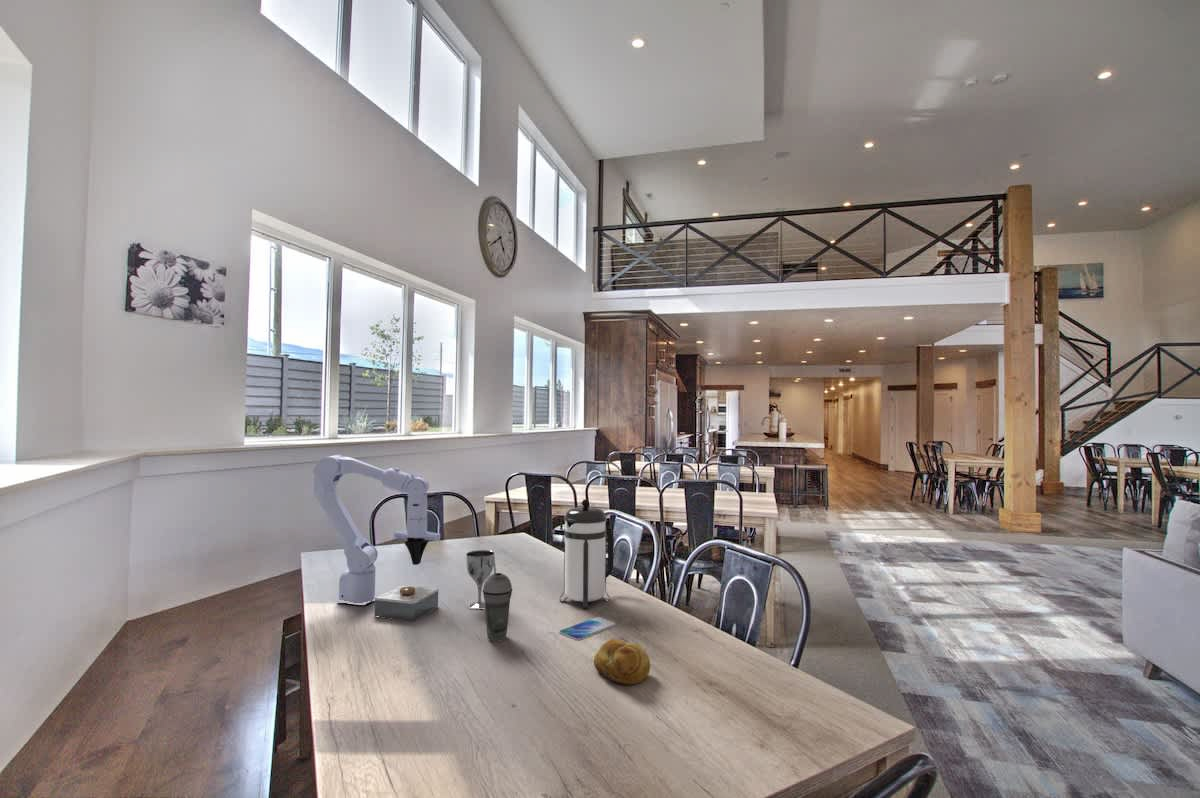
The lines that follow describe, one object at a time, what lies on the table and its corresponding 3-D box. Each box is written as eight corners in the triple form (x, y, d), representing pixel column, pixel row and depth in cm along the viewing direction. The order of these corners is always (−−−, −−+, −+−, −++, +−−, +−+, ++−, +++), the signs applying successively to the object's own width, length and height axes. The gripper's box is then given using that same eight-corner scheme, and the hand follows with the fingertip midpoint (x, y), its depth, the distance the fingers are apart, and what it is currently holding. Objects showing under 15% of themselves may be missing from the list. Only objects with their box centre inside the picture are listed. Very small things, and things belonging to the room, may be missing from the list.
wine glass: (496, 602, 163) (497, 550, 163) (488, 611, 155) (489, 557, 156) (470, 600, 164) (471, 549, 164) (461, 610, 156) (462, 556, 156)
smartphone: (618, 623, 146) (577, 639, 135) (618, 626, 146) (577, 642, 135) (598, 616, 150) (557, 630, 140) (598, 619, 150) (557, 634, 140)
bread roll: (583, 672, 118) (584, 633, 118) (616, 659, 125) (616, 623, 125) (626, 694, 109) (626, 652, 109) (659, 679, 115) (659, 639, 116)
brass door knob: (381, 613, 151) (381, 592, 151) (402, 602, 160) (402, 582, 160) (412, 617, 148) (412, 595, 148) (432, 605, 158) (432, 585, 158)
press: (374, 616, 150) (374, 597, 150) (406, 600, 164) (406, 582, 164) (413, 621, 147) (413, 601, 147) (442, 604, 161) (442, 586, 161)
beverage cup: (505, 644, 132) (506, 560, 133) (476, 642, 133) (478, 558, 134) (516, 633, 139) (517, 552, 140) (488, 631, 140) (489, 551, 141)
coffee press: (613, 610, 157) (614, 503, 158) (557, 609, 157) (558, 502, 158) (613, 591, 174) (614, 495, 175) (562, 590, 174) (563, 494, 176)
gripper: (445, 516, 168) (445, 562, 167) (404, 514, 171) (403, 559, 171) (433, 520, 161) (432, 568, 160) (389, 518, 165) (389, 564, 164)
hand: (416, 563), depth 165 cm, fingers closed
